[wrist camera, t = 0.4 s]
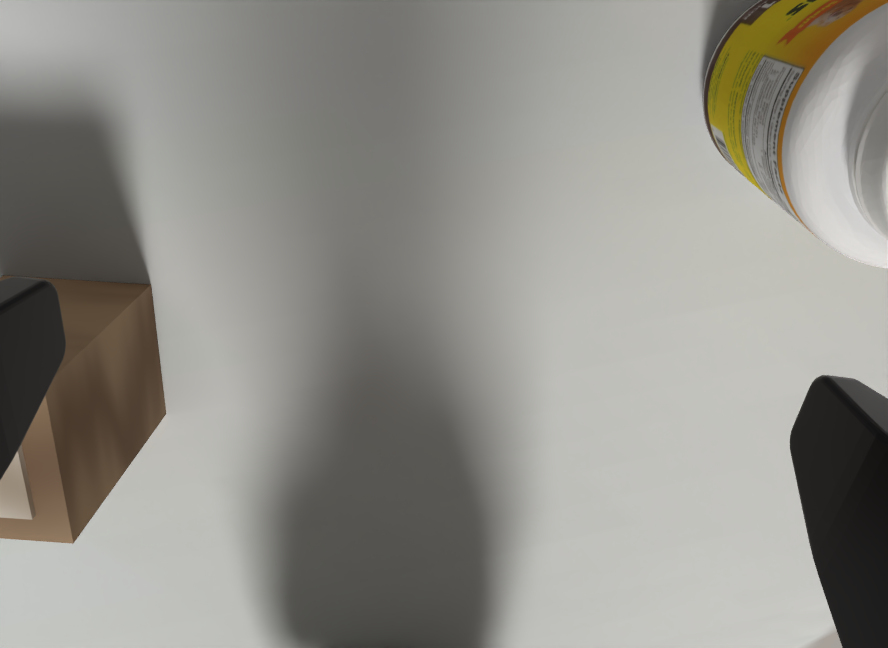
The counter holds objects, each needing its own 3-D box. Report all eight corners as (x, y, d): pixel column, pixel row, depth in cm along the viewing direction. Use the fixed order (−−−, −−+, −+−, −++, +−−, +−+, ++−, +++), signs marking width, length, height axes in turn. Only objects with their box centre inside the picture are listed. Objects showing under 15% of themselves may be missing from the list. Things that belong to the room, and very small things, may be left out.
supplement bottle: (924, -14, 21) (1260, 3, 12) (863, 187, 24) (1105, 330, 14) (718, -31, 21) (894, -27, 12) (677, 170, 24) (799, 303, 14)
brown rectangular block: (166, 413, 28) (69, 548, 22) (29, 404, 28) (-108, 535, 22) (151, 284, 26) (39, 390, 20) (4, 275, 26) (-156, 377, 20)
